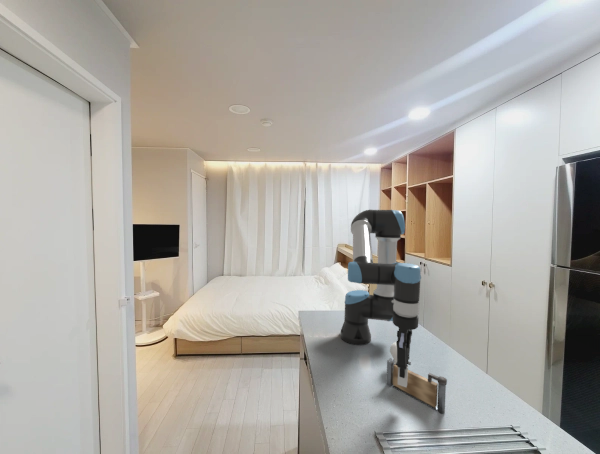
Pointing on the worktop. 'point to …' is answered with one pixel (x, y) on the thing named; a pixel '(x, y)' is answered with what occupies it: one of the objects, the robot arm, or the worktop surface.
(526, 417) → the worktop surface
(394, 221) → the robot arm
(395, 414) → the worktop surface
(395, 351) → the light bulb
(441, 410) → the gate frame
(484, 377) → the worktop surface
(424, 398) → the gate
